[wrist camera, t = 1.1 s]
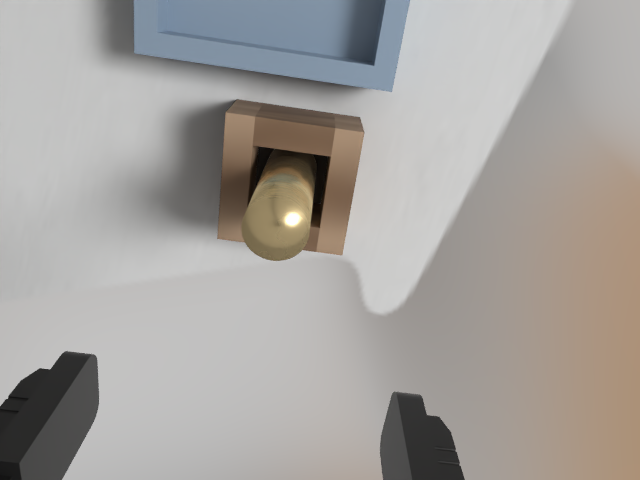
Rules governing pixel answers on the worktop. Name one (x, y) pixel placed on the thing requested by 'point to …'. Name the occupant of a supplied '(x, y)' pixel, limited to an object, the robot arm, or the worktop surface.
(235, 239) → the bracket
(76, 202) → the worktop surface
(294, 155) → the pin
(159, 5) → the tray
